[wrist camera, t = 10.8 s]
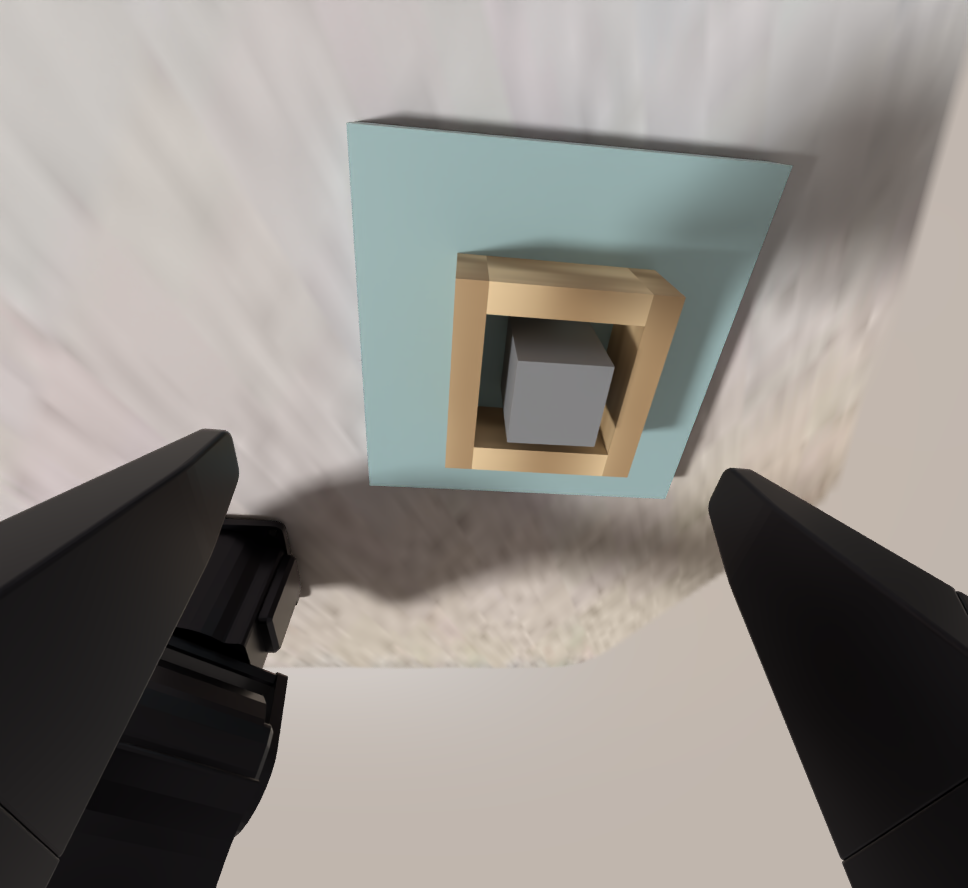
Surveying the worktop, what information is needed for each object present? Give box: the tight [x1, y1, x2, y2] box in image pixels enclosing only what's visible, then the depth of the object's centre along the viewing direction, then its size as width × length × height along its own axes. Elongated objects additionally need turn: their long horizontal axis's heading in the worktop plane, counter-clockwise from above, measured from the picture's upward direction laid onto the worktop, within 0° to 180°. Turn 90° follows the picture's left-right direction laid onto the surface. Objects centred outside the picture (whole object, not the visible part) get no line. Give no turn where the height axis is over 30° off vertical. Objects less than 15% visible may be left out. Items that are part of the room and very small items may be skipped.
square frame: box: [445, 253, 686, 478], centre depth 18 cm, size 7×7×3 cm
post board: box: [347, 122, 792, 499], centre depth 18 cm, size 14×14×6 cm
